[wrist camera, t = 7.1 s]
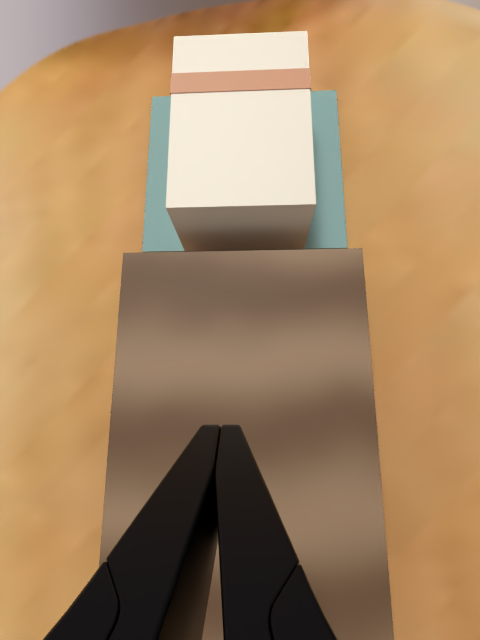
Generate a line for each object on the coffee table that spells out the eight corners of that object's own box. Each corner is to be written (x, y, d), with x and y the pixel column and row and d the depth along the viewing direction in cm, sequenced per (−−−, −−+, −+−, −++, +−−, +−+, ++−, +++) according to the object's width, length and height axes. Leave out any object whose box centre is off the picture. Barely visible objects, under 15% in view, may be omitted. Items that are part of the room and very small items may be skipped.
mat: (345, 250, 24) (347, 247, 23) (144, 254, 24) (142, 251, 24) (335, 95, 26) (336, 90, 26) (153, 101, 27) (152, 96, 27)
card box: (317, 203, 19) (308, 30, 21) (164, 207, 19) (172, 35, 21) (305, 249, 24) (298, 104, 26) (183, 251, 24) (188, 108, 26)
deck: (372, 634, 19) (397, 680, 16) (120, 628, 19) (90, 672, 16) (347, 273, 23) (362, 248, 20) (142, 277, 24) (123, 252, 21)
